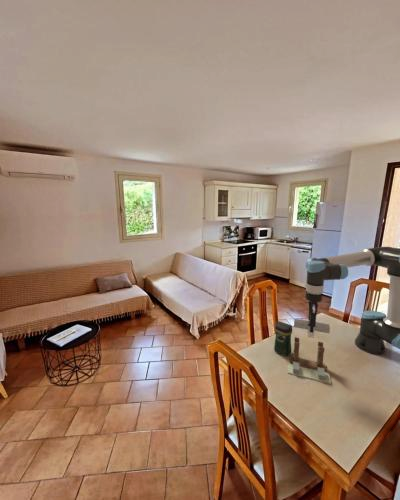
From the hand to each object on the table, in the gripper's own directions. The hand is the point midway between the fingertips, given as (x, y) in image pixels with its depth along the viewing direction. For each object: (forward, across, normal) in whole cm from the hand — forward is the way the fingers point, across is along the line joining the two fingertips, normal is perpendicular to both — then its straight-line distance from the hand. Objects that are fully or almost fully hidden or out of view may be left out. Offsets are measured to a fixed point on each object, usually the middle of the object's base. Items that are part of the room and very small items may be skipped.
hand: (310, 335), depth 113 cm
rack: (+22, -8, 0) cm, 23 cm away
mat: (+22, 0, 0) cm, 22 cm away
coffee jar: (+22, -14, -13) cm, 29 cm away
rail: (-4, 0, 0) cm, 4 cm away
